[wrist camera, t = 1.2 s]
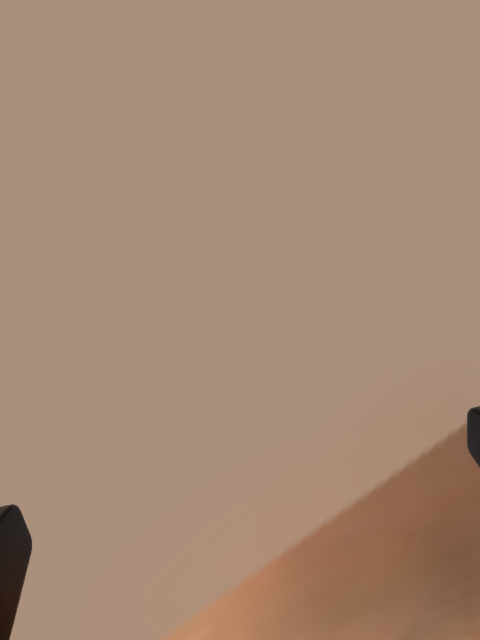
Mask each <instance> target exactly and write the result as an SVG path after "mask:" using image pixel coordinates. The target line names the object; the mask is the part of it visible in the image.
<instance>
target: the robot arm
mask: <svg viewBox="0 0 480 640" xmlns="http://www.w3.org/2000/svg"><path fill="white" fill-rule="evenodd" d="M467 445H468V449H469V452H470V454H471V455H472V457H473V459H474V460H475V461H476V463H477V464H478V465H479V467H480V406H479V407H474V408H471V409H470V410H469V411H468V414H467ZM31 551H32V539H31V535H30V533H29V530H28V528H27V525H26V523H25V520H24V518H23V515H22V513H21V511H20V509H19V507H18V506H16V505H14V504H12V505H6V506H2V507H0V640H9V639H10V635H11V631H12V628H13V624H14V620H15V616H16V612H17V608H18V604H19V600H20V596H21V592H22V588H23V584H24V580H25V576H26V572H27V567H28V563H29V560H30V556H31Z"/></svg>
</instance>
